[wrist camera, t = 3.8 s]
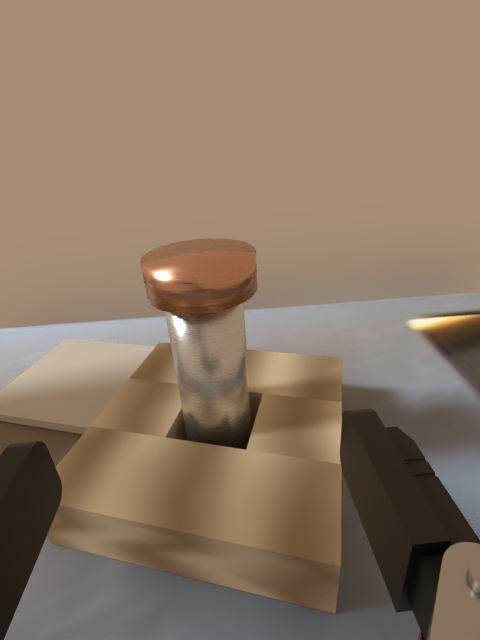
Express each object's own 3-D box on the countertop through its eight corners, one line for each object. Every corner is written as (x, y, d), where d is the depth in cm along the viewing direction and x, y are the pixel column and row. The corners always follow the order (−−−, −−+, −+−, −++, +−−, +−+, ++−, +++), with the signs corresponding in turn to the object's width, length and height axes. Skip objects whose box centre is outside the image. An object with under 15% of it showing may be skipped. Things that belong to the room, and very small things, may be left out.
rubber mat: (-22, 417, 31) (-26, 410, 31) (68, 344, 42) (66, 338, 41) (100, 437, 28) (97, 429, 28) (164, 353, 39) (163, 347, 38)
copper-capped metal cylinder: (166, 485, 24) (117, 272, 17) (197, 421, 29) (169, 238, 22) (254, 501, 23) (240, 277, 16) (270, 431, 28) (265, 238, 21)
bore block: (52, 543, 21) (29, 498, 19) (166, 378, 35) (159, 342, 33) (335, 613, 17) (341, 566, 15) (338, 396, 31) (342, 357, 29)
